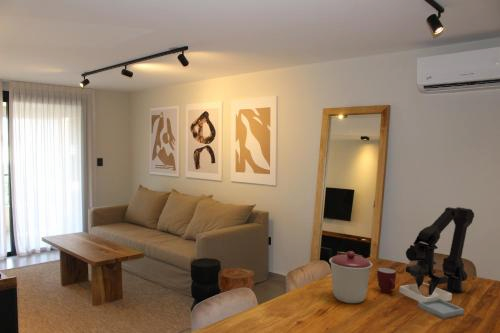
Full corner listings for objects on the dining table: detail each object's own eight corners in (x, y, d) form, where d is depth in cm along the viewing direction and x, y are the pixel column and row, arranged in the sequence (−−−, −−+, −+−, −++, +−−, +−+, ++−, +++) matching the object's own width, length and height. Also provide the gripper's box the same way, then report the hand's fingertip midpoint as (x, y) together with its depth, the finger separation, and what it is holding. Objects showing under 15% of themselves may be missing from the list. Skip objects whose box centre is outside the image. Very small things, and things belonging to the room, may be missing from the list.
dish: (423, 288, 185) (423, 282, 185) (451, 300, 171) (451, 293, 171) (399, 292, 179) (399, 286, 179) (426, 305, 165) (427, 298, 165)
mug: (402, 296, 175) (403, 274, 174) (387, 297, 172) (388, 275, 172) (387, 287, 185) (388, 267, 184) (372, 289, 182) (373, 268, 182)
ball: (424, 292, 178) (424, 281, 178) (433, 296, 174) (434, 285, 174) (416, 293, 176) (417, 283, 176) (425, 297, 172) (426, 286, 171)
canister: (377, 299, 170) (380, 251, 169) (358, 311, 156) (360, 259, 155) (341, 288, 182) (342, 244, 181) (319, 298, 169) (321, 250, 168)
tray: (438, 303, 167) (438, 298, 167) (463, 314, 156) (464, 309, 156) (418, 307, 162) (418, 302, 162) (442, 319, 151) (443, 313, 151)
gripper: (397, 254, 179) (395, 288, 180) (431, 266, 162) (429, 303, 163) (415, 252, 184) (413, 285, 185) (449, 264, 167) (447, 299, 168)
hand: (425, 292), depth 175 cm, fingers open, 5 cm apart
